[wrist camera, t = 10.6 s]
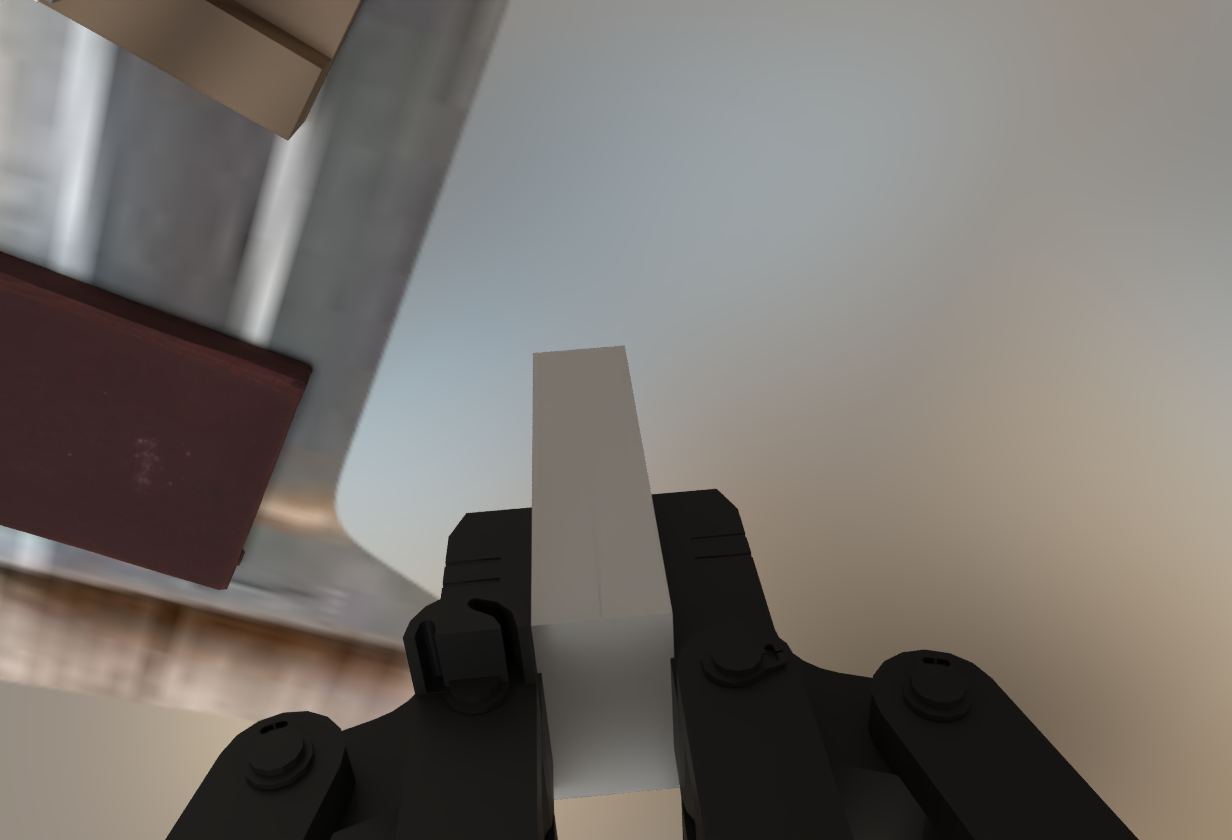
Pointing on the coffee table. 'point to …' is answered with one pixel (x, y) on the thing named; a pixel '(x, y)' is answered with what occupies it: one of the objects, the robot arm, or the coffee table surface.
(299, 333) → the coffee table surface
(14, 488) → the book
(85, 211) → the coffee table surface
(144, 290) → the coffee table surface
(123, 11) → the dark open tray
